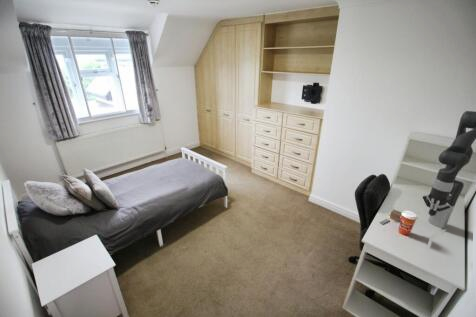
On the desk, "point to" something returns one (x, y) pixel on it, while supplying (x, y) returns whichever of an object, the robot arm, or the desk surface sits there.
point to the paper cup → (407, 222)
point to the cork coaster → (394, 220)
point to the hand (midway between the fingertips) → (431, 215)
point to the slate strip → (384, 221)
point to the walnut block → (395, 215)
